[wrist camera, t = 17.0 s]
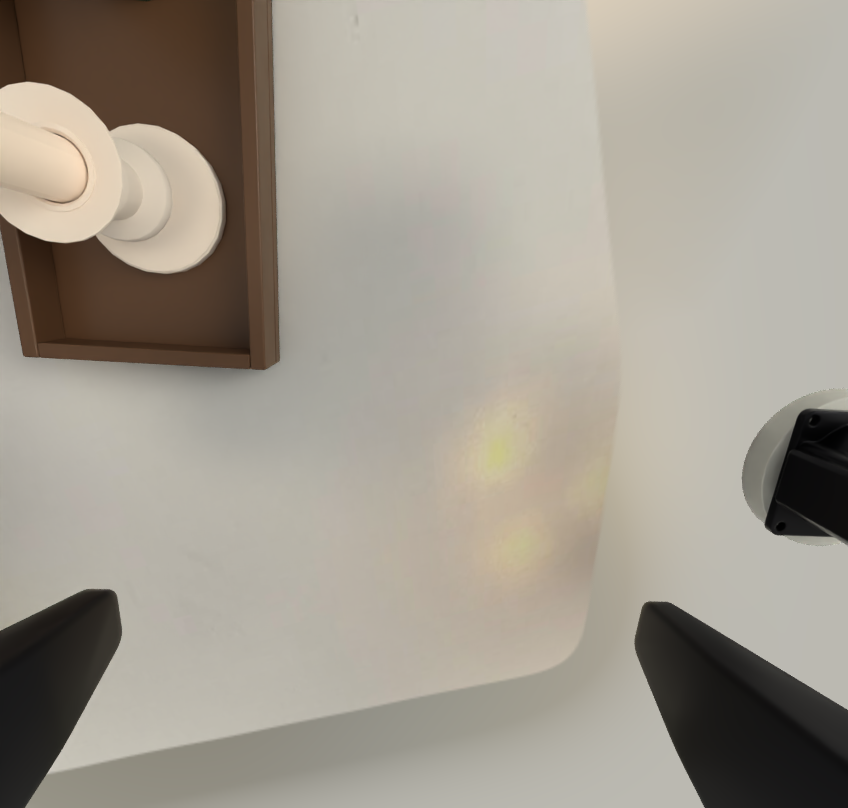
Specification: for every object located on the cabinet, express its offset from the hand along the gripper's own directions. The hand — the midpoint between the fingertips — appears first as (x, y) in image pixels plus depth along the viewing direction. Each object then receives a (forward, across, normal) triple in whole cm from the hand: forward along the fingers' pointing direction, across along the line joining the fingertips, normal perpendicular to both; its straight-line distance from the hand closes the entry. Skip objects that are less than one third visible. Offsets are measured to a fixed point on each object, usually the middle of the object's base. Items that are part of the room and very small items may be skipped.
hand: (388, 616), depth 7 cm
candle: (+13, +10, -8) cm, 18 cm away
